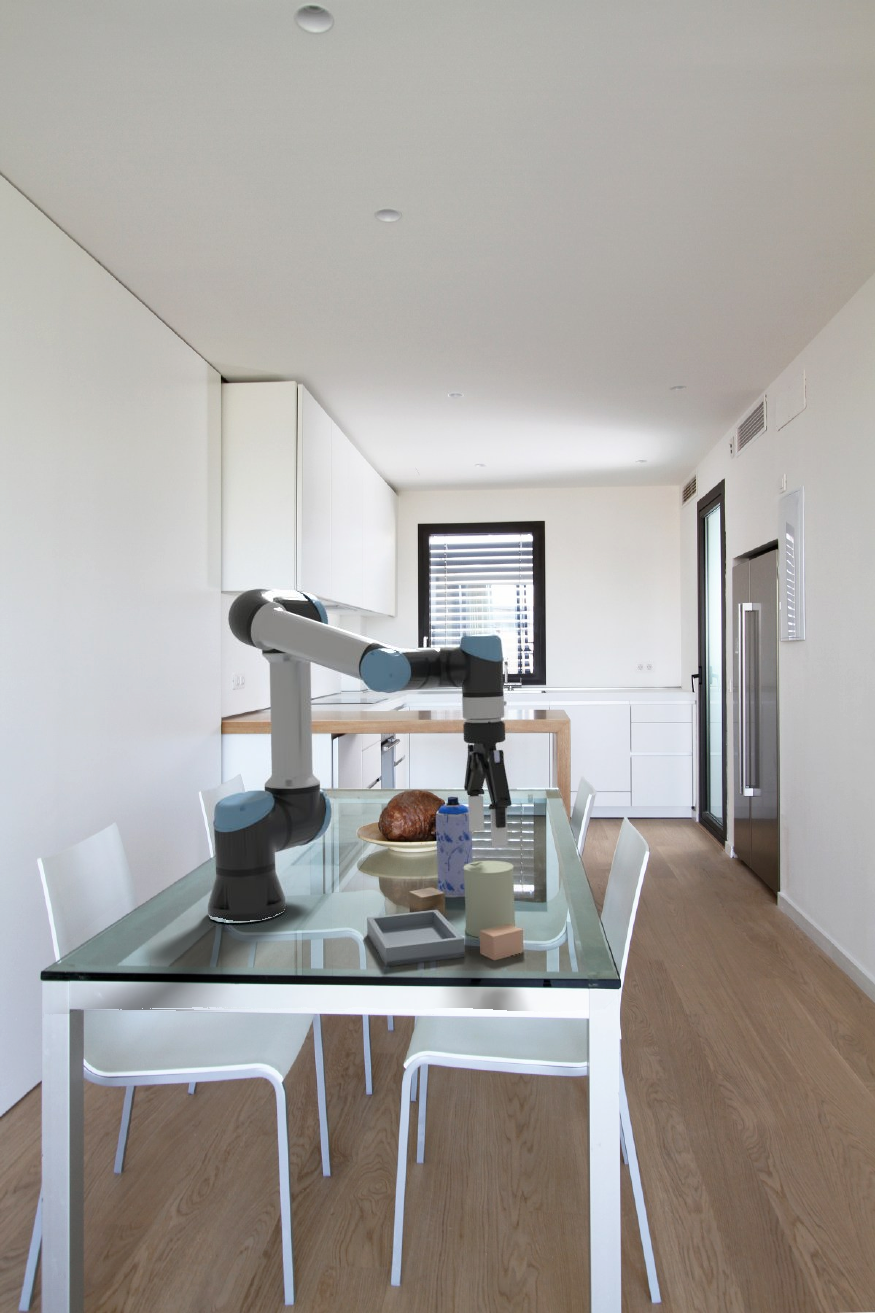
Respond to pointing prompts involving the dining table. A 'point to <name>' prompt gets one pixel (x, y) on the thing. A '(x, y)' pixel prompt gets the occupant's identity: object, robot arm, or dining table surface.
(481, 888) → the can
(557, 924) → the dining table surface
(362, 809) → the dining table surface
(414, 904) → the walnut block
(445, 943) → the tray
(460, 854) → the aerosol can
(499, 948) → the soap block
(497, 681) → the robot arm
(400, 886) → the dining table surface
